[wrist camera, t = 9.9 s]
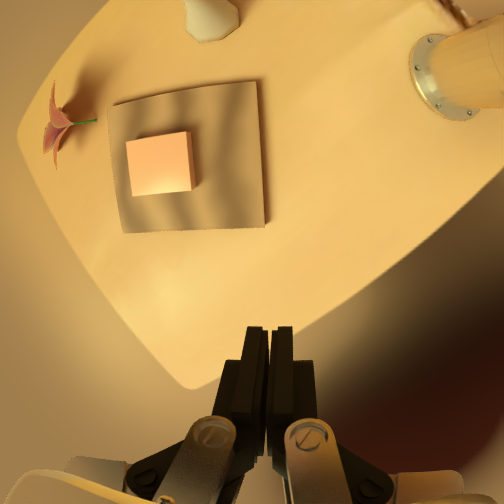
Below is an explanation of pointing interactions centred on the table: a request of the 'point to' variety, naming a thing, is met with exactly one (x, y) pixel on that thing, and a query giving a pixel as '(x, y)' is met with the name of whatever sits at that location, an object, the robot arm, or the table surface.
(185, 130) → the board
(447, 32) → the table surface
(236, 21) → the flask
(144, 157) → the tile
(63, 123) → the lily
